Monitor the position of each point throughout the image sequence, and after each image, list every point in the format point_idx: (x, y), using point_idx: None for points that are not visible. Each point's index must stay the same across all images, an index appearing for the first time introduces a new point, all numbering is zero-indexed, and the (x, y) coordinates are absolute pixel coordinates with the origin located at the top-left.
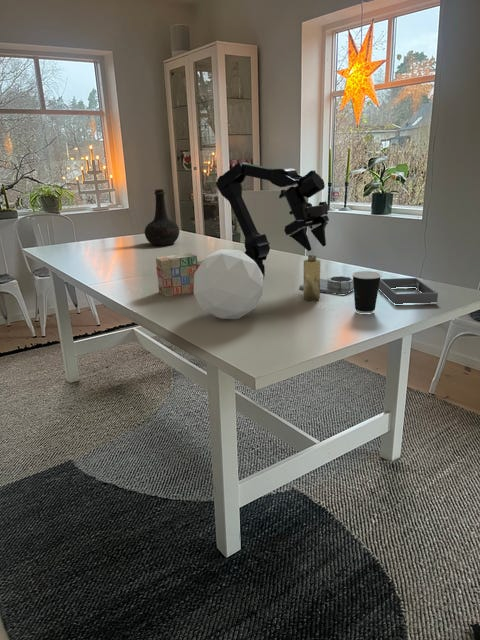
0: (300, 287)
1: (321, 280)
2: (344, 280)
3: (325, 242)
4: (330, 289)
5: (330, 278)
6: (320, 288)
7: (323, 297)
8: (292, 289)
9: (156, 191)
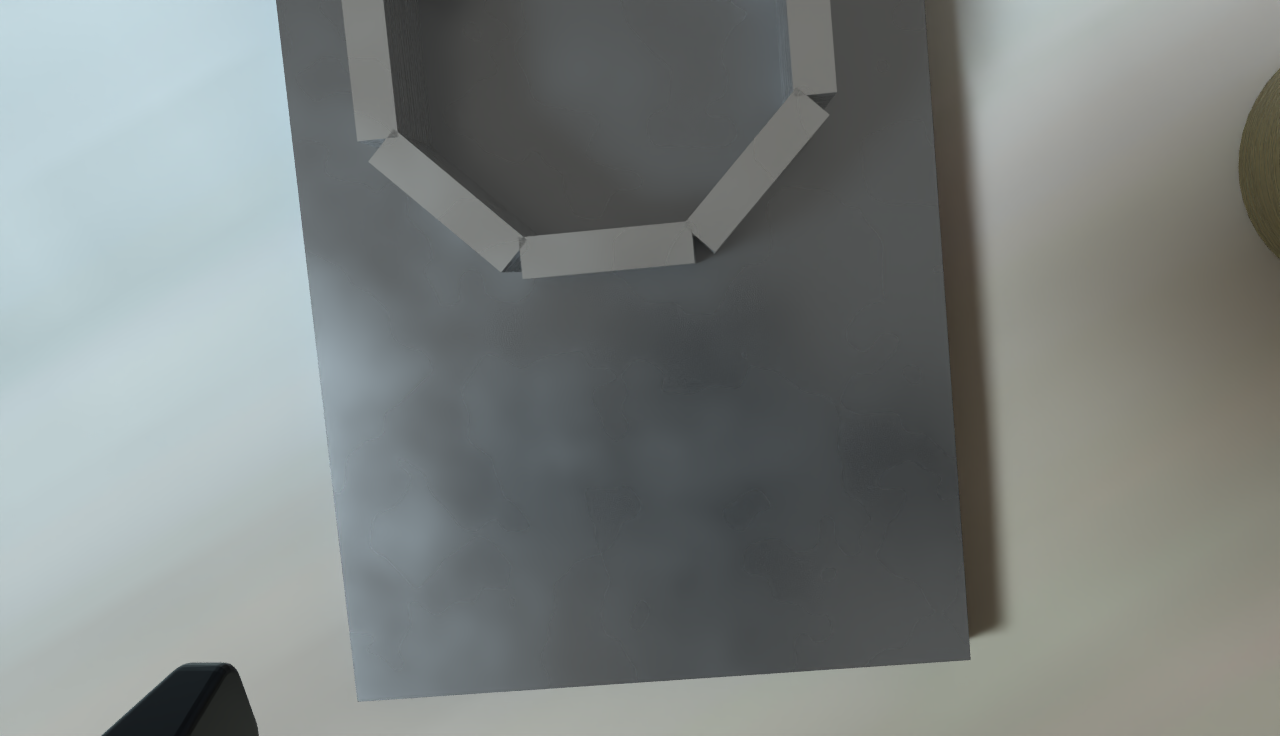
0: (963, 634)
1: (425, 546)
2: (407, 68)
3: (138, 730)
4: (868, 99)
5: (647, 226)
6: (901, 280)
7: (1182, 47)
8: (1031, 730)
9: None
